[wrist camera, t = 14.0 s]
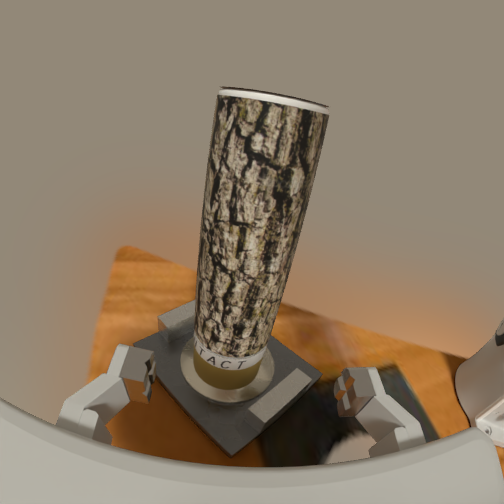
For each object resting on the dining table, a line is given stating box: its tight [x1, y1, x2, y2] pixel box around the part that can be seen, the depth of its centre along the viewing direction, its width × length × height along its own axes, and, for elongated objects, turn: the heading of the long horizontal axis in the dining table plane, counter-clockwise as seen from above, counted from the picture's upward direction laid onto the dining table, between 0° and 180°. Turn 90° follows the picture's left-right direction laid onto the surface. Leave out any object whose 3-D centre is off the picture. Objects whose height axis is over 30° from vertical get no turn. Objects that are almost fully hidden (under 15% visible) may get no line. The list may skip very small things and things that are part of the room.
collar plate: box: [133, 300, 322, 458], centre depth 28 cm, size 16×14×4 cm
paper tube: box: [193, 87, 329, 390], centre depth 21 cm, size 7×7×25 cm
